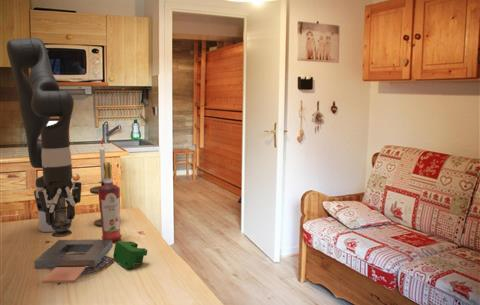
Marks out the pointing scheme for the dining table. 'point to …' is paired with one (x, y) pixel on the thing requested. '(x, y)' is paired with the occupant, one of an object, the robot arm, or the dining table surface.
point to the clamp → (128, 254)
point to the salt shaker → (61, 220)
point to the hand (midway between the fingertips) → (61, 221)
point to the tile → (64, 274)
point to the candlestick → (95, 189)
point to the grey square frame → (61, 247)
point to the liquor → (109, 206)
